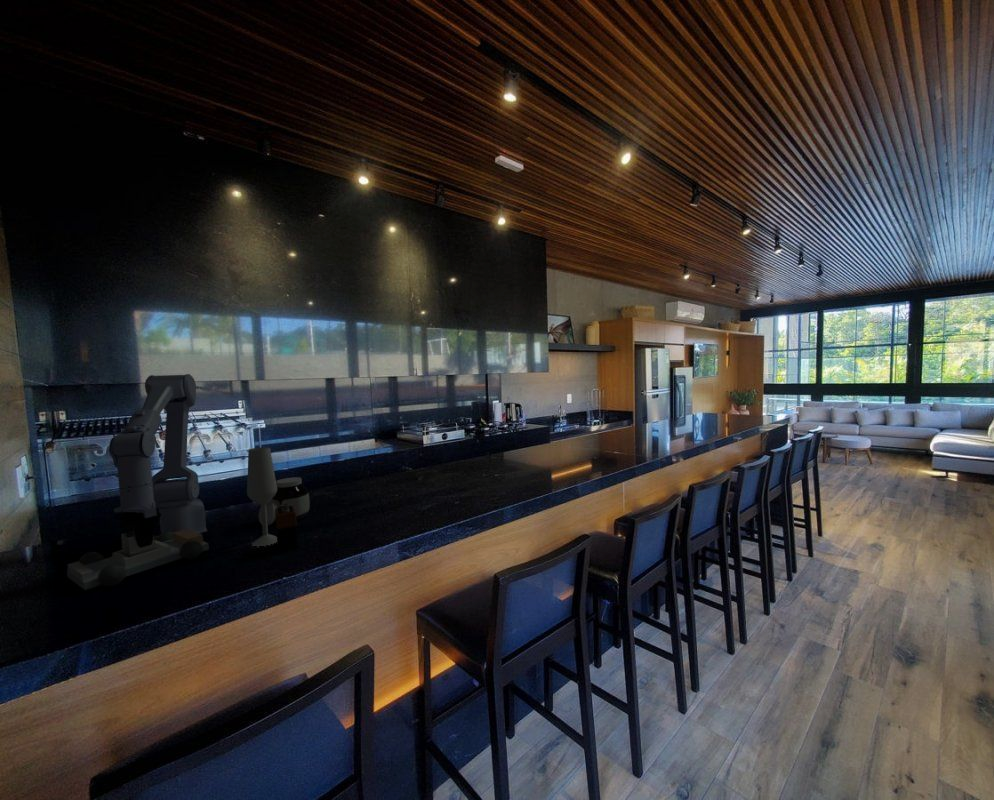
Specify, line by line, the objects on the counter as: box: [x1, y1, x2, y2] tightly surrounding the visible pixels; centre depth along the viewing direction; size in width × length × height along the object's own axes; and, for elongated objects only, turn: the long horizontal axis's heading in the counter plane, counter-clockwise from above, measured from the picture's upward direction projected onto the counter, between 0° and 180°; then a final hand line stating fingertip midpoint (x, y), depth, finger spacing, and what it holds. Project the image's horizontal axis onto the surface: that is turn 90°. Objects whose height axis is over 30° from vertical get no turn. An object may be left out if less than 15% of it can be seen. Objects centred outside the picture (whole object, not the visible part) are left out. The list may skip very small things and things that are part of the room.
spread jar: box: [258, 476, 311, 526], centre depth 121 cm, size 12×11×12 cm
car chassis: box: [66, 529, 210, 591], centre depth 94 cm, size 22×15×4 cm
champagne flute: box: [246, 446, 277, 548], centre depth 105 cm, size 7×7×24 cm
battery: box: [275, 503, 299, 553], centre depth 102 cm, size 4×7×10 cm, turn 30°
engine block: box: [120, 530, 156, 558], centre depth 94 cm, size 4×4×6 cm
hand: (141, 543), depth 94 cm, fingers closed on engine block, 4 cm apart
